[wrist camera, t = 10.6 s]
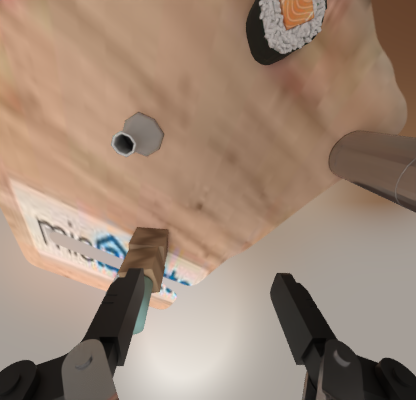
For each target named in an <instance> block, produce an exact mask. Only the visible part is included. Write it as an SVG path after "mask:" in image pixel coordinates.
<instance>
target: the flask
mask: <svg viewBox="0 0 416 400" xmlns="http://www.w3.org/2000/svg"><path fill="white" fill-rule="evenodd" d="M163 136H164V133H163V132H162V130H161V129H160V127H159V125H158V124H157V122H156V121H155V119H153V118H151V117H148V116H146V115H144V114H142V113H140V112H138V113H136V114H135V115H133V116H132V117H130V118H129V119H127V120H126V121H125V124H124V128H123V131H120V132H118V133H117V134H115V135H114V136H113V138H112V142H111V146H112V147H113V148H114V150H115V151H116V152H117V153H118V154H120V155H123V156H125V157H128V156H129V155H131V154H133V153H134V152H137V153H139V154H142V155H144V156H149V155H150V154H152V153H154V152H155V151H157V150H158V149H159V148H160V145H161V142H162V139H163Z"/></svg>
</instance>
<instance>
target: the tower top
mask: <svg viewBox="0 0 416 400" xmlns="http://www.w3.org/2000/svg"><path fill="white" fill-rule="evenodd" d="M129 268H143V269H144V276H146V277H148V278H149V279H151V281H152V282H153V288H152V292H151V293H155V292H160V288H161V284H162V279H163V274H164V269H165V266H164V263H163V260H162V256H161V253H160V249H159V246H154V247H146V248H138V249H130V250H129V251H128V253H127V255H126V257H125V259H124V262H123V263H122V265H121V267H120V269H119V271H118V275H119V277H125V276H126V273H127V271H128V269H129Z"/></svg>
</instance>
